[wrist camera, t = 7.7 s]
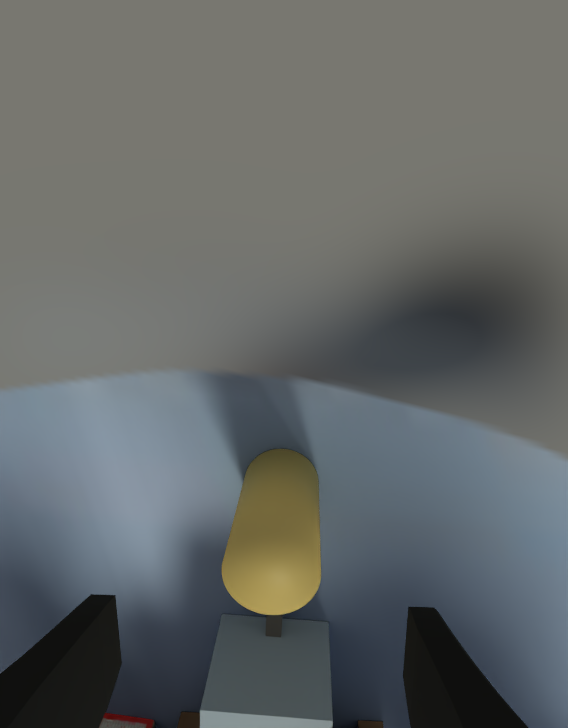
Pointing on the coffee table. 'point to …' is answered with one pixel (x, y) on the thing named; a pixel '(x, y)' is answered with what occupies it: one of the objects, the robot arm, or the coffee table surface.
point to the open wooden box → (191, 721)
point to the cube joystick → (272, 605)
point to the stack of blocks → (125, 722)
